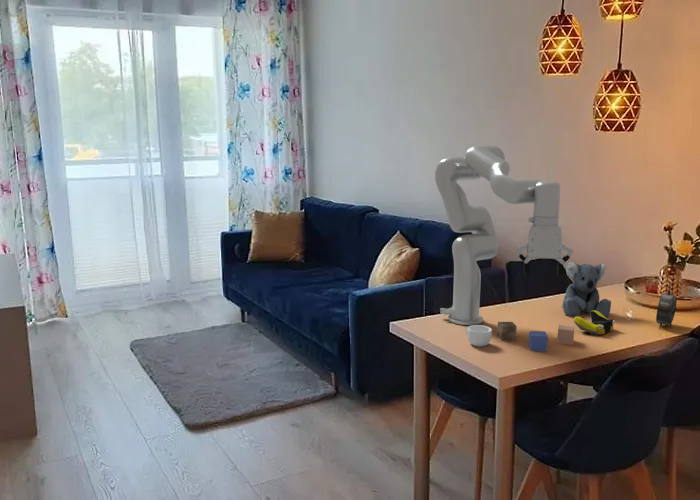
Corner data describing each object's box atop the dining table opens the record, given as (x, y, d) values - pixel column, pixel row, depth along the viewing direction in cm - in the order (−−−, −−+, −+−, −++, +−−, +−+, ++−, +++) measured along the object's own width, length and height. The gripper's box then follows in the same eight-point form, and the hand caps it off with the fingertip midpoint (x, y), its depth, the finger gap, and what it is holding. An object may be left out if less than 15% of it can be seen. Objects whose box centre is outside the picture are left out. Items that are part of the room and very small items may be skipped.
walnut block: (500, 340, 219) (501, 326, 218) (497, 335, 223) (497, 321, 223) (515, 340, 219) (516, 326, 218) (511, 335, 224) (512, 321, 223)
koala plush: (564, 317, 246) (568, 266, 242) (553, 304, 263) (557, 256, 260) (612, 318, 244) (616, 267, 241) (598, 305, 262) (602, 257, 258)
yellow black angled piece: (570, 331, 229) (597, 338, 221) (571, 316, 228) (598, 323, 220) (591, 323, 239) (618, 329, 231) (593, 308, 238) (619, 314, 230)
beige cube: (557, 343, 216) (558, 328, 215) (557, 338, 221) (558, 324, 220) (573, 345, 214) (574, 330, 213) (573, 340, 219) (574, 326, 218)
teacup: (496, 345, 214) (496, 329, 213) (480, 350, 209) (480, 333, 208) (473, 337, 221) (473, 322, 220) (457, 341, 217) (457, 326, 216)
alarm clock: (660, 321, 241) (664, 278, 238) (676, 324, 238) (681, 280, 235) (654, 329, 232) (658, 284, 229) (670, 331, 229) (675, 286, 226)
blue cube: (530, 350, 209) (531, 335, 208) (528, 345, 214) (529, 330, 213) (546, 351, 208) (547, 336, 207) (544, 346, 213) (545, 331, 212)
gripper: (518, 222, 201) (516, 277, 204) (577, 223, 199) (573, 278, 202) (515, 219, 209) (513, 272, 212) (572, 220, 206) (569, 273, 209)
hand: (542, 275), depth 207 cm, fingers open, 9 cm apart
